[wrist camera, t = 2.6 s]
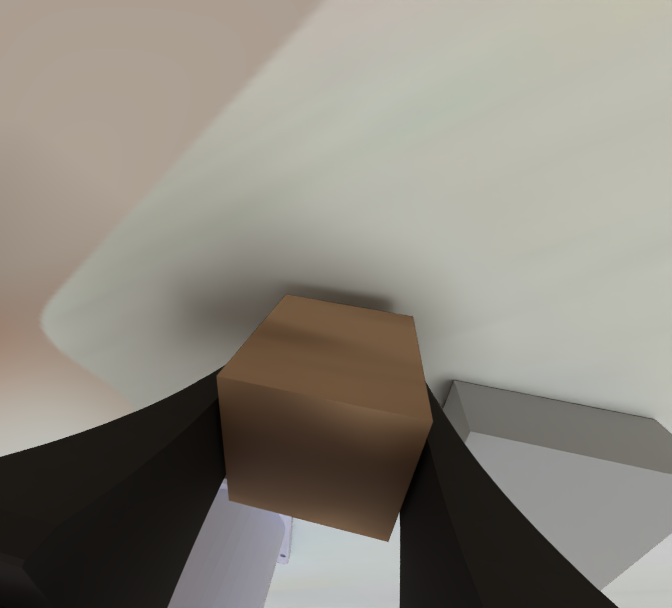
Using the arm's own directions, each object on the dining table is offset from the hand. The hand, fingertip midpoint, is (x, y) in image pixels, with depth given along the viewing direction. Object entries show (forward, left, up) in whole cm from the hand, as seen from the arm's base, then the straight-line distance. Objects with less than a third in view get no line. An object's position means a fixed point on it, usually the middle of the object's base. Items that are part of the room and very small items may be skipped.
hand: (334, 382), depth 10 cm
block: (0, 0, -2) cm, 2 cm away
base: (-6, -10, -3) cm, 12 cm away
